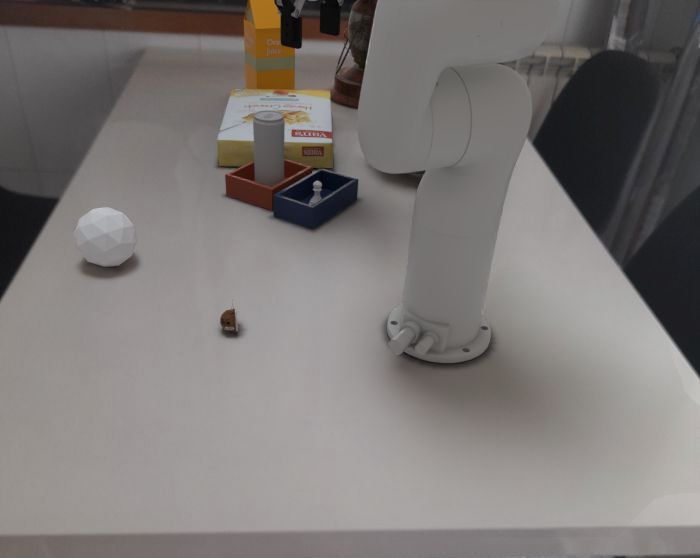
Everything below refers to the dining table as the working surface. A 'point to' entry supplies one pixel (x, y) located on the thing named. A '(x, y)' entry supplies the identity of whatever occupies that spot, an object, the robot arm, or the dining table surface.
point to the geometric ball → (105, 237)
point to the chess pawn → (316, 192)
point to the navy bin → (298, 195)
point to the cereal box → (300, 126)
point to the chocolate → (229, 320)
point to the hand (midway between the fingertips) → (311, 40)
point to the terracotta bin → (248, 190)
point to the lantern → (354, 54)
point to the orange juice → (266, 49)
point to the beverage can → (269, 147)
